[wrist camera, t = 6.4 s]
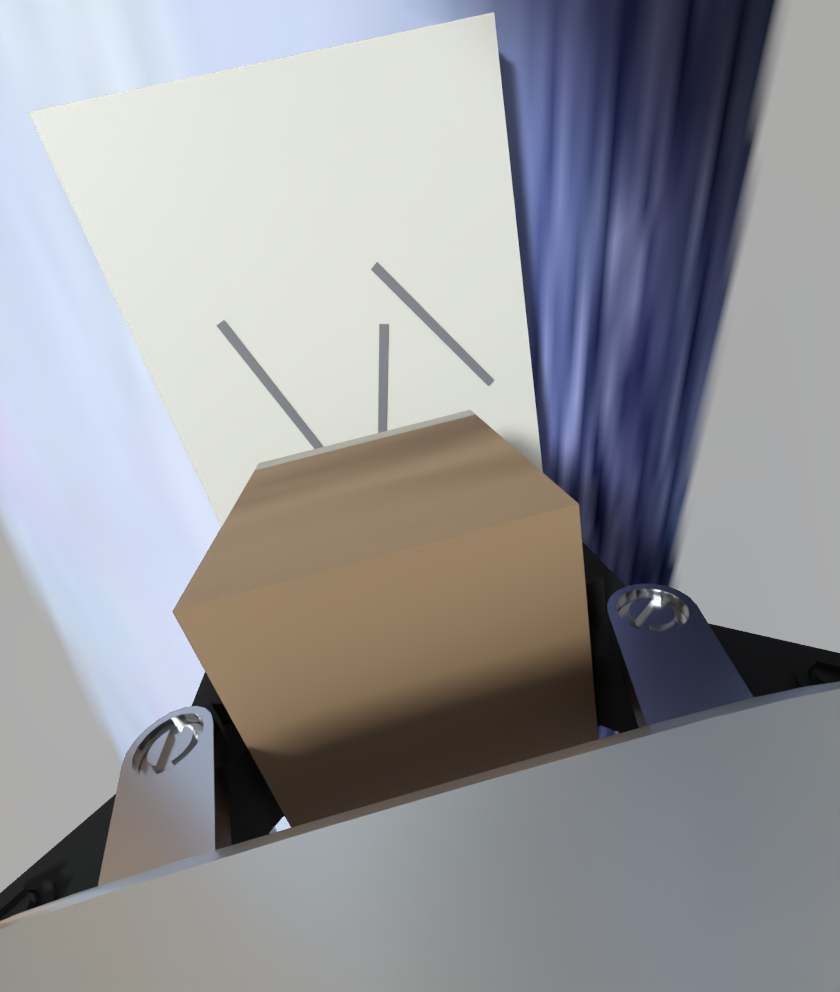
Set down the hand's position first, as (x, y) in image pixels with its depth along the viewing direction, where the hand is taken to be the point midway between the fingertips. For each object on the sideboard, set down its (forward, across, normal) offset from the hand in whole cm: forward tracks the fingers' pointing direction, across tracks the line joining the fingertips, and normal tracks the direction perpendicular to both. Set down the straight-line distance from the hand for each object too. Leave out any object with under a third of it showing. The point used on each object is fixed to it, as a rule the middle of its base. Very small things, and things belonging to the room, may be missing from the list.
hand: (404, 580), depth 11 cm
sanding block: (+1, 0, 0) cm, 1 cm away
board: (+5, 0, -1) cm, 5 cm away
